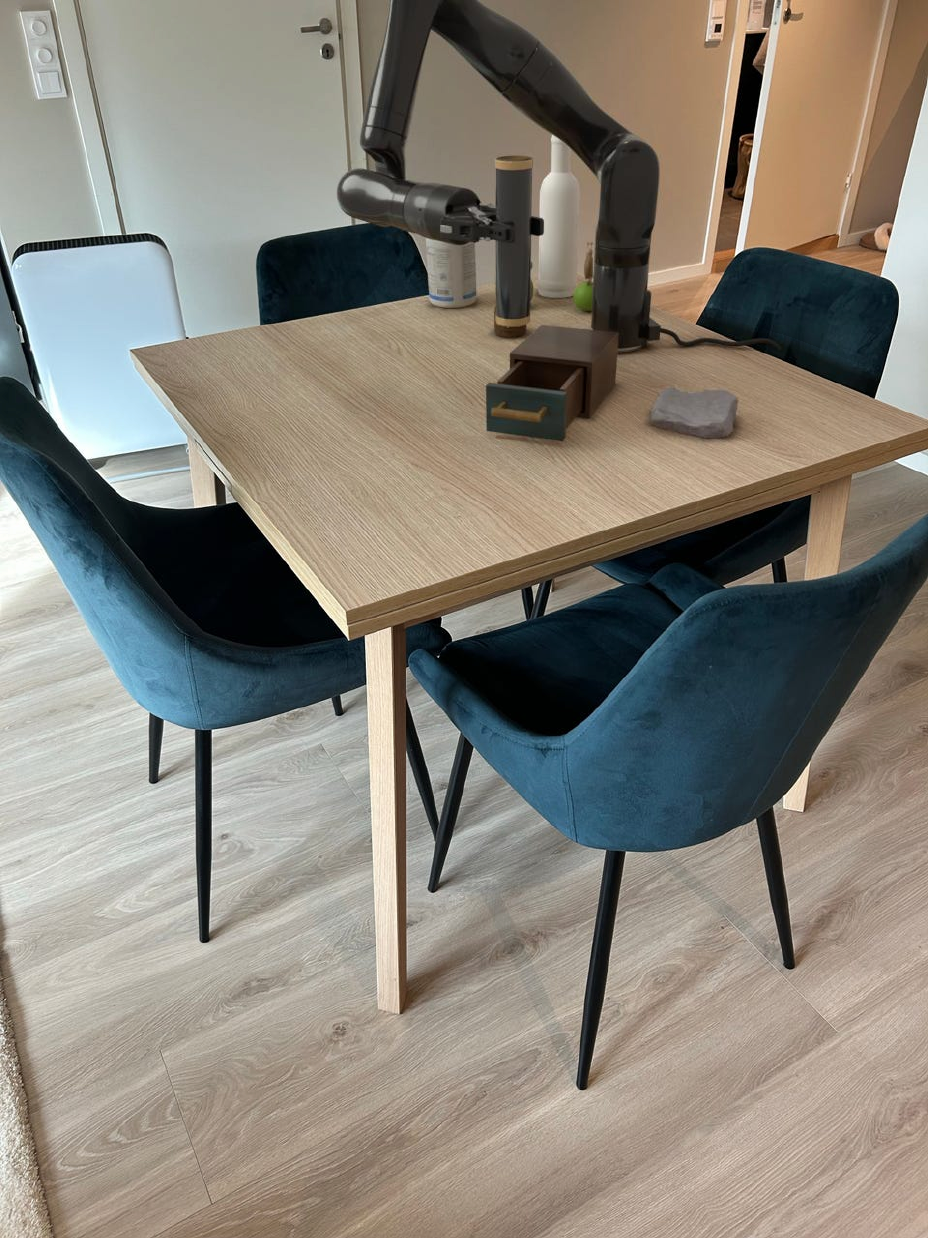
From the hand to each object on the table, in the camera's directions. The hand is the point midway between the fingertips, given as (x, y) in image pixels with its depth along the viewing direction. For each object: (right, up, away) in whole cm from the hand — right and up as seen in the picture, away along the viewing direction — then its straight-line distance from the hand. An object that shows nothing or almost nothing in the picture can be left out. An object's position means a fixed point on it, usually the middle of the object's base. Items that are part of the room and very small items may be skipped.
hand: (527, 230), depth 129 cm
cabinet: (+7, -17, +23) cm, 29 cm away
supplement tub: (-11, +12, +68) cm, 70 cm away
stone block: (+25, -23, +12) cm, 36 cm away
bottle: (+11, +15, +71) cm, 74 cm away
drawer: (+2, -23, +12) cm, 26 cm away
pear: (+3, +10, +64) cm, 65 cm away
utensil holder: (0, +1, +50) cm, 50 cm away
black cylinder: (-1, -9, +9) cm, 13 cm away
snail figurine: (+16, +9, +61) cm, 64 cm away
